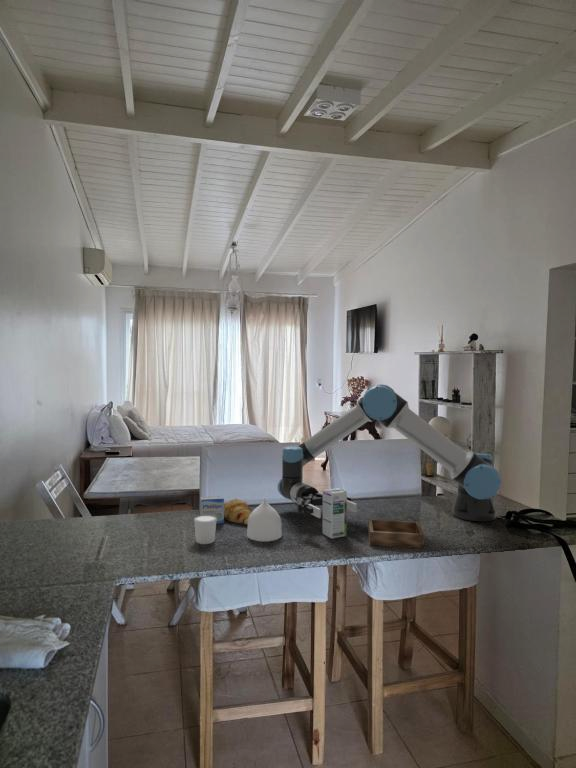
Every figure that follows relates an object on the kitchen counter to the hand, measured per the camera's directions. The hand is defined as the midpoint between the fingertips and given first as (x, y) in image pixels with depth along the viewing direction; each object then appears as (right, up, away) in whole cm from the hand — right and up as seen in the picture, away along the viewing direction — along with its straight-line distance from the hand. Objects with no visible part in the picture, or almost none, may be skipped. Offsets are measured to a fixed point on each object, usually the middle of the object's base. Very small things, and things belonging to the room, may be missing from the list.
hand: (338, 510), depth 158 cm
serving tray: (+18, -9, -1) cm, 20 cm away
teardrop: (-23, -8, +1) cm, 25 cm away
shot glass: (-41, -8, -5) cm, 42 cm away
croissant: (-34, -8, +19) cm, 40 cm away
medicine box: (-42, -8, +14) cm, 45 cm away
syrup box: (-1, -8, +2) cm, 9 cm away
